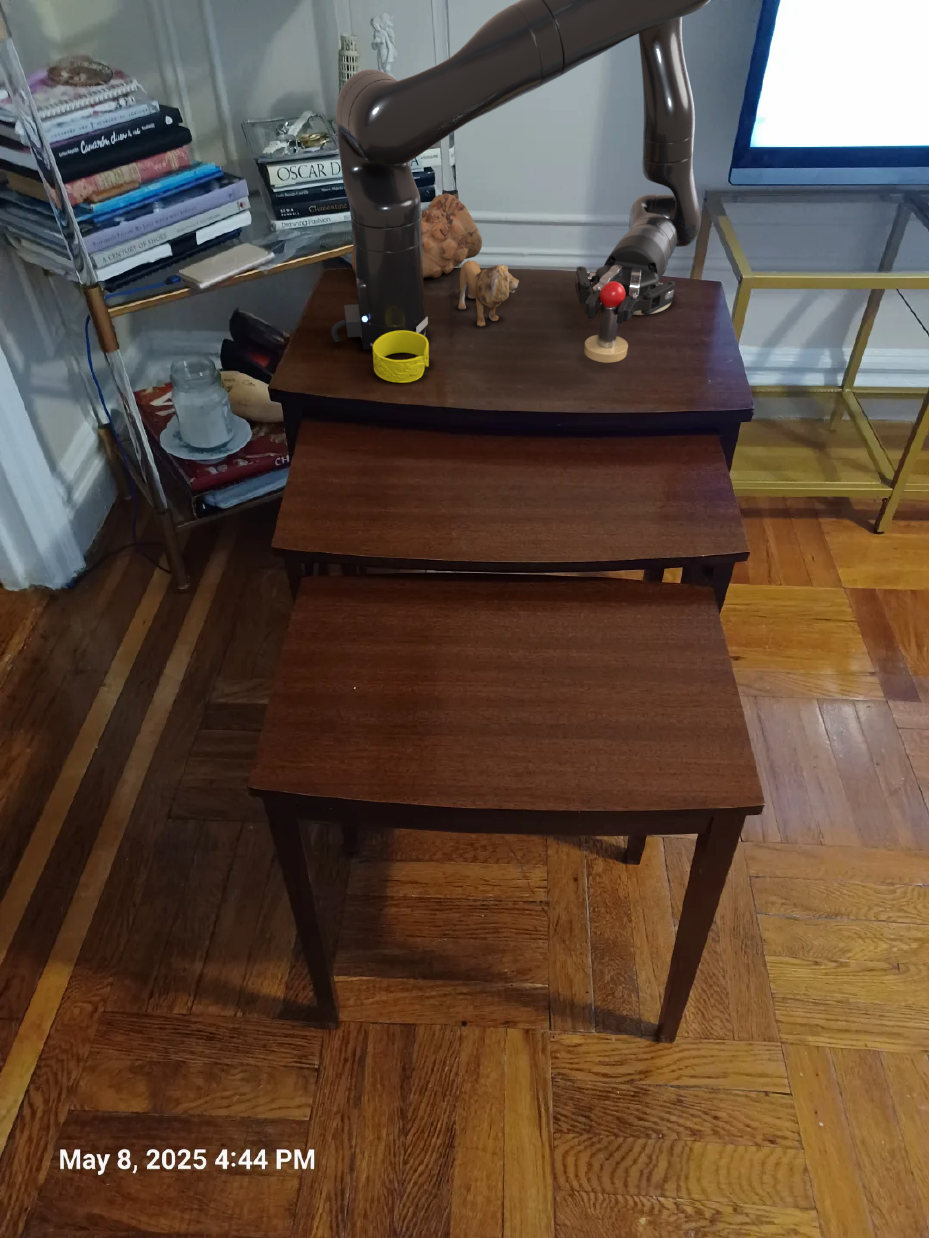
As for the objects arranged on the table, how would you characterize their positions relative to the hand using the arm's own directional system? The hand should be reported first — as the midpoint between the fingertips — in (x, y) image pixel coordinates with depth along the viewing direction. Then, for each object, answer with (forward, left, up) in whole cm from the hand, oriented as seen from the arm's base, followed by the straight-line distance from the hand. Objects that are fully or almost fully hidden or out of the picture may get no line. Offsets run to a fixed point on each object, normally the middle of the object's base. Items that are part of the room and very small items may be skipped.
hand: (605, 314), depth 110 cm
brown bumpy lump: (-22, +36, -10) cm, 43 cm away
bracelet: (-26, +9, -11) cm, 29 cm away
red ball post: (+1, +2, -7) cm, 7 cm away
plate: (+13, +26, -11) cm, 31 cm away
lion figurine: (-11, +24, -11) cm, 29 cm away
